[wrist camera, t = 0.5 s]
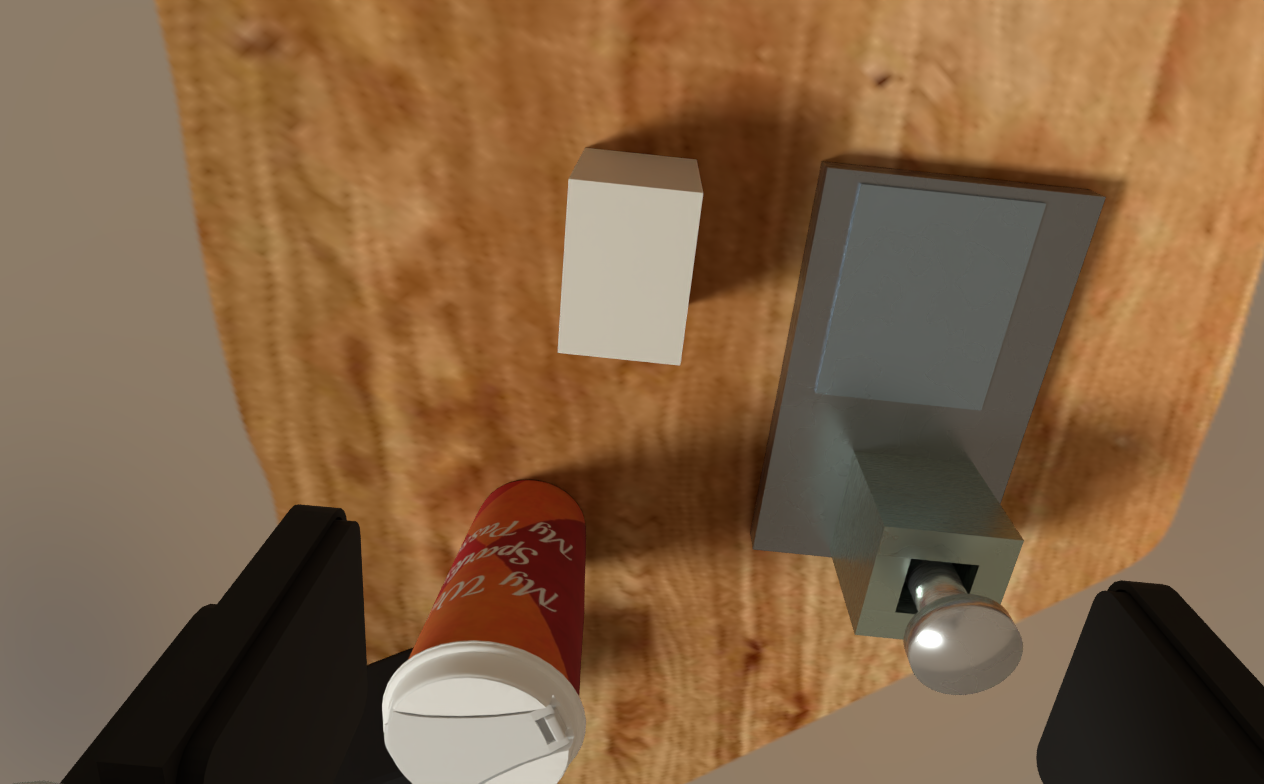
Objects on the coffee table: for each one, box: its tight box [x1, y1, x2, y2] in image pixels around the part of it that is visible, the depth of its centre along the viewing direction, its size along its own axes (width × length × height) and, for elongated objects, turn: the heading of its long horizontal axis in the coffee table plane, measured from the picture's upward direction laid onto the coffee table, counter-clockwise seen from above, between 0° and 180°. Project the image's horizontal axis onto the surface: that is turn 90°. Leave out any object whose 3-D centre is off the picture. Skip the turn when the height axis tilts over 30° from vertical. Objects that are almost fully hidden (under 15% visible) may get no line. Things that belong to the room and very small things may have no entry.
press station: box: [750, 161, 1106, 640], centre depth 38 cm, size 20×12×8 cm, turn 174°
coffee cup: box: [382, 480, 586, 784], centre depth 39 cm, size 8×8×15 cm
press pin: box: [903, 559, 1023, 695], centre depth 36 cm, size 4×4×6 cm
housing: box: [558, 148, 703, 365], centre depth 35 cm, size 7×5×7 cm
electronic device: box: [333, 648, 413, 784], centre depth 46 cm, size 4×10×10 cm, turn 116°
